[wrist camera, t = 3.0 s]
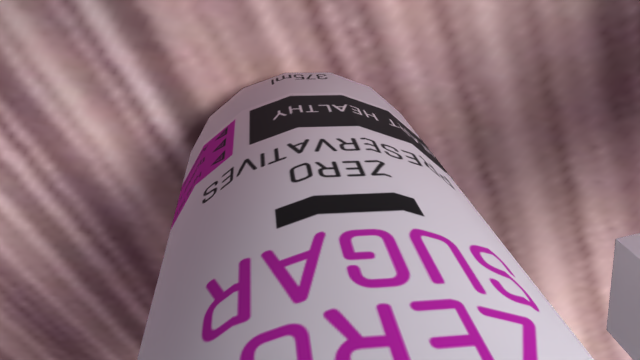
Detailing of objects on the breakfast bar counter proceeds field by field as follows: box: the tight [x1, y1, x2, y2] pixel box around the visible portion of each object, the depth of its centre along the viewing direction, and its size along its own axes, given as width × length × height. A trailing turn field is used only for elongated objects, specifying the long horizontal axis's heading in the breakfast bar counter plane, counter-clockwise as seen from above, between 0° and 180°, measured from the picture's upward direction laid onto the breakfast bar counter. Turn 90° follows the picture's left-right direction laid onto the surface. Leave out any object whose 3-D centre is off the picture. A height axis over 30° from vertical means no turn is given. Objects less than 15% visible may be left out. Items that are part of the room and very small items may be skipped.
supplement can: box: [137, 72, 594, 360], centre depth 12 cm, size 8×8×15 cm
